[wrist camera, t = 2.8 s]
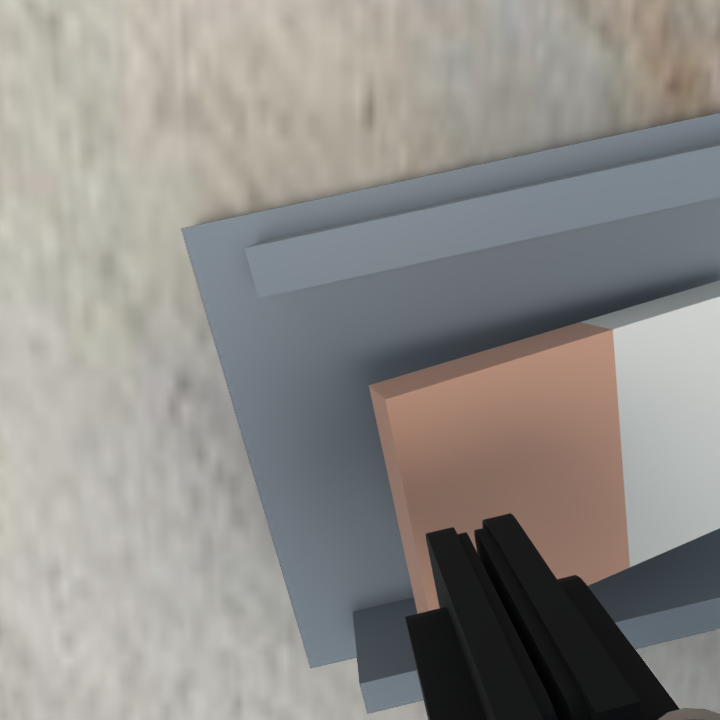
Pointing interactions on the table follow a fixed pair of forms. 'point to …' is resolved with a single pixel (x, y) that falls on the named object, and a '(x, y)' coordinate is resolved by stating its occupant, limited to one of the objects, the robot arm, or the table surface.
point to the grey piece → (440, 354)
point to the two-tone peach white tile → (565, 440)
